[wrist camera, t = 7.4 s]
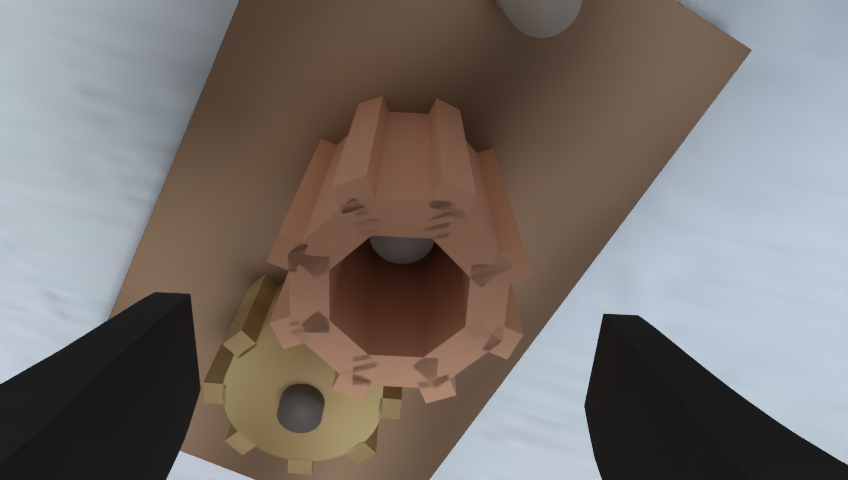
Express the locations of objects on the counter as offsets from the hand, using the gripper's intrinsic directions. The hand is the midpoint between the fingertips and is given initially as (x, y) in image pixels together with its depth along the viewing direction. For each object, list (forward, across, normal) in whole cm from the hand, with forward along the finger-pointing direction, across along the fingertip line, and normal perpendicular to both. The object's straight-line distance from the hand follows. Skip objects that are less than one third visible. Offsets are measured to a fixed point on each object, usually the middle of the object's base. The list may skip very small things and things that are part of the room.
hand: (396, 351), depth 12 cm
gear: (+8, 0, 0) cm, 8 cm away
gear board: (+9, +1, +2) cm, 10 cm away
